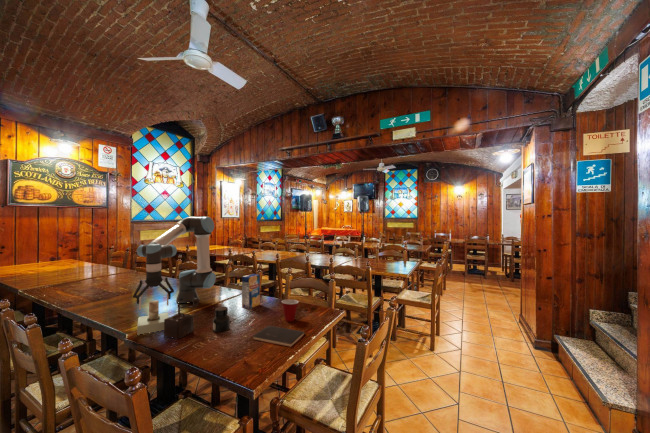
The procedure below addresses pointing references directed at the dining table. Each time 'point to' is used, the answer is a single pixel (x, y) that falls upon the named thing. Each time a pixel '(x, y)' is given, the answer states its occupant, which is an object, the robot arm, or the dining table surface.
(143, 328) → the board
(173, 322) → the dark boxy piece
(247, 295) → the blue yellow cereal box
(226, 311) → the ink bottle
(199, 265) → the robot arm
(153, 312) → the peg
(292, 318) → the plastic cup
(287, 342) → the hardcover book
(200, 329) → the dining table surface
